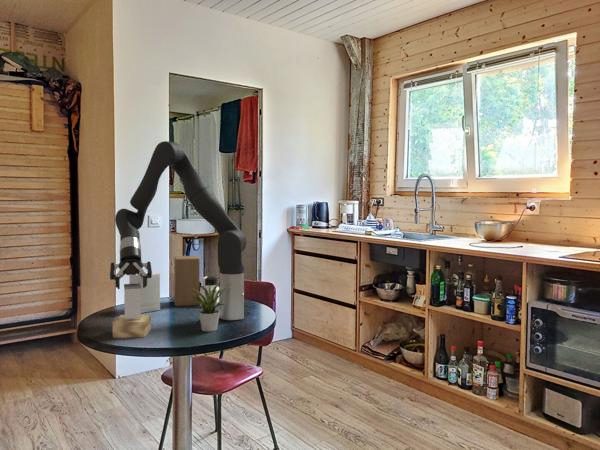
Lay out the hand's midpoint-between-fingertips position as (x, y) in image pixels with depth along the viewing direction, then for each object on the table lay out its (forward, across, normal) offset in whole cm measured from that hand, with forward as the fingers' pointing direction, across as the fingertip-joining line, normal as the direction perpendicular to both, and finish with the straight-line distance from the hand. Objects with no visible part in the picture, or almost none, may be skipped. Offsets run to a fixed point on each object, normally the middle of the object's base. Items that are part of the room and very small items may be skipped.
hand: (131, 287), depth 166 cm
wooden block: (-11, +23, +30) cm, 39 cm away
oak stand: (+18, 0, +1) cm, 18 cm away
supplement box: (-5, +6, +24) cm, 26 cm away
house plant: (+20, +26, -1) cm, 33 cm away
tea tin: (+14, 0, -2) cm, 14 cm away
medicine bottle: (-7, +32, +26) cm, 42 cm away
